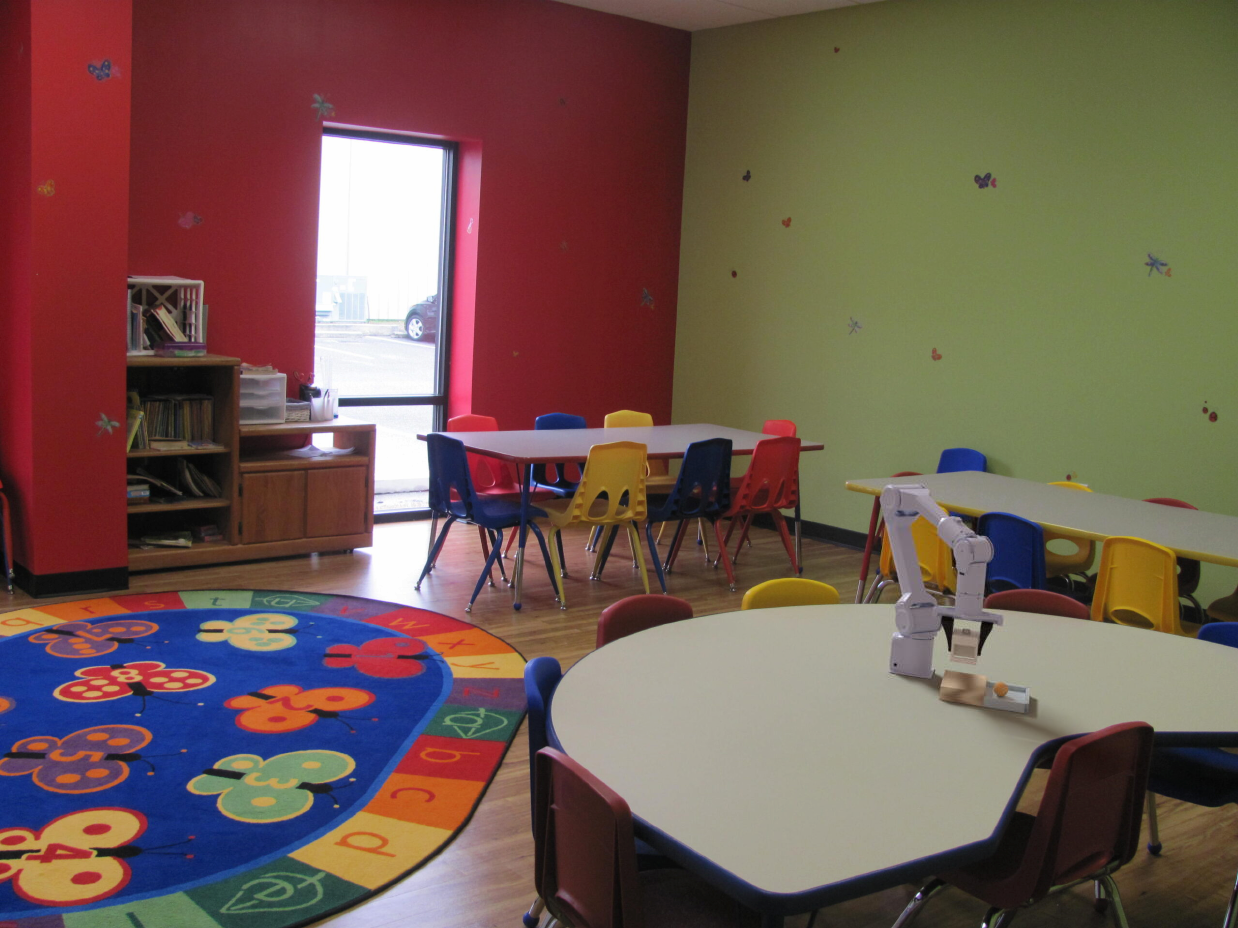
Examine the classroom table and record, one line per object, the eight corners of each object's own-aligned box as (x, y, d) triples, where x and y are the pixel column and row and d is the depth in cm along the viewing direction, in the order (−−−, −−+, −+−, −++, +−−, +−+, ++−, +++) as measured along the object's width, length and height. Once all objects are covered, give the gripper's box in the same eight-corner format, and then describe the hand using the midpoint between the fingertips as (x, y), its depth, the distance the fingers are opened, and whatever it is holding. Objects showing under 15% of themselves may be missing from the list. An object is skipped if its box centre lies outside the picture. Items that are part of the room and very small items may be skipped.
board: (939, 699, 234) (940, 685, 234) (944, 682, 245) (945, 669, 245) (983, 706, 231) (984, 692, 230) (986, 689, 242) (987, 676, 241)
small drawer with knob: (949, 661, 235) (952, 630, 234) (952, 654, 240) (954, 624, 239) (976, 665, 233) (978, 634, 232) (977, 657, 238) (980, 628, 237)
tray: (983, 706, 231) (983, 697, 230) (986, 689, 242) (986, 680, 242) (1028, 713, 227) (1029, 704, 227) (1029, 695, 239) (1030, 687, 238)
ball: (997, 700, 234) (990, 687, 234) (997, 696, 236) (990, 683, 237) (1010, 694, 233) (1003, 681, 233) (1010, 690, 235) (1003, 678, 236)
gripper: (933, 591, 234) (928, 652, 236) (1004, 600, 229) (998, 662, 230) (936, 584, 240) (931, 643, 242) (1005, 593, 235) (1000, 653, 237)
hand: (964, 652), depth 237 cm, fingers closed on small drawer with knob, 5 cm apart
